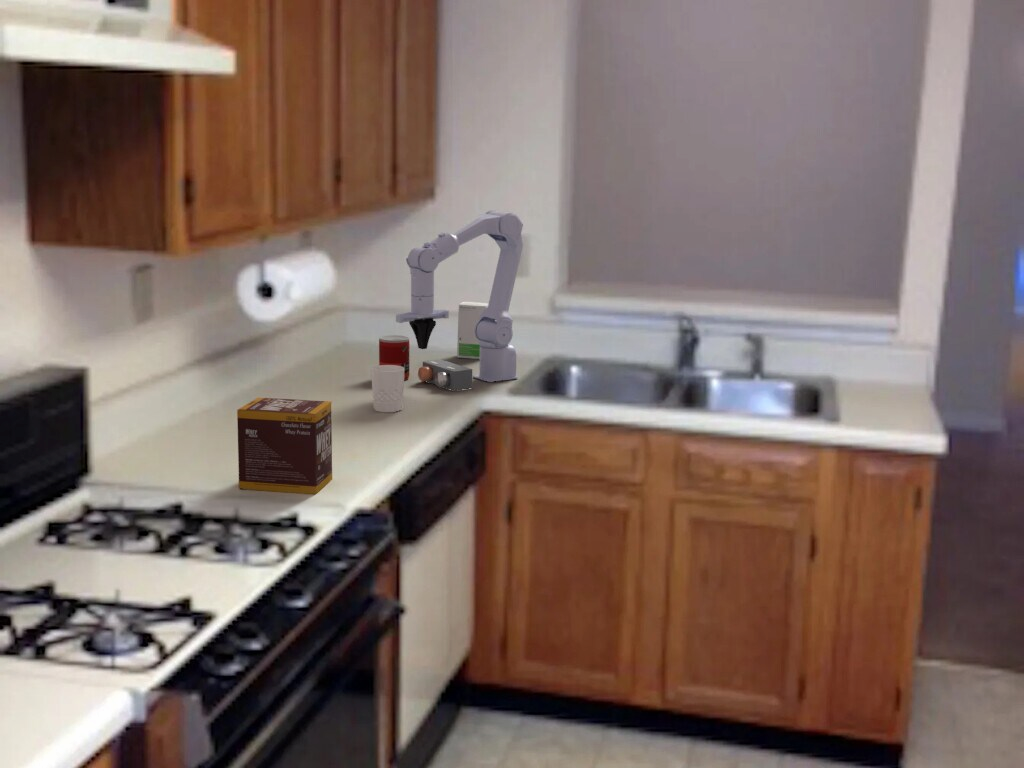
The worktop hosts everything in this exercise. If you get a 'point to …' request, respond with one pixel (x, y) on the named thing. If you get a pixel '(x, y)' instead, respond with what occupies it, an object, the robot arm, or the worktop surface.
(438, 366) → the mount
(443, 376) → the knob aluminium
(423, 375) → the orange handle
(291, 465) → the supplement box
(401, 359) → the canned food
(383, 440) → the worktop surface
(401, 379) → the white cup
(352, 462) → the worktop surface
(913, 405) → the worktop surface
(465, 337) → the skincare box
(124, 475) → the worktop surface
